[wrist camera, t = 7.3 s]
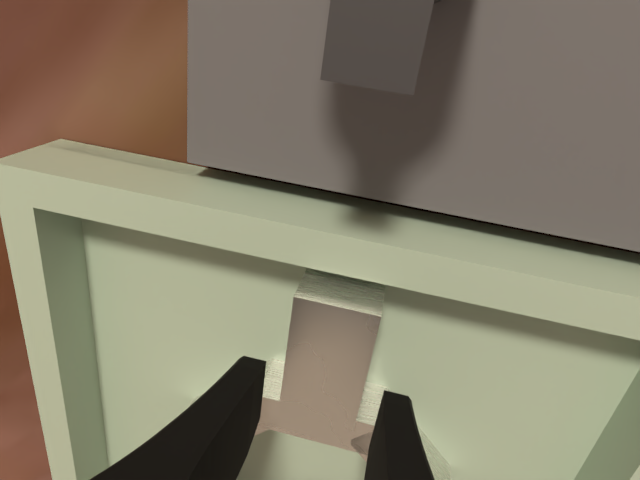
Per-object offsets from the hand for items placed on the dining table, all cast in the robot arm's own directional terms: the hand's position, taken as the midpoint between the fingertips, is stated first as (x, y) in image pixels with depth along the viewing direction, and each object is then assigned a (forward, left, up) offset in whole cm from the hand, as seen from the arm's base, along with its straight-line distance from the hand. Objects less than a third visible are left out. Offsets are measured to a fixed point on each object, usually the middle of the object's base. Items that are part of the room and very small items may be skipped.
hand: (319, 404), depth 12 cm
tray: (0, +5, -3) cm, 6 cm away
